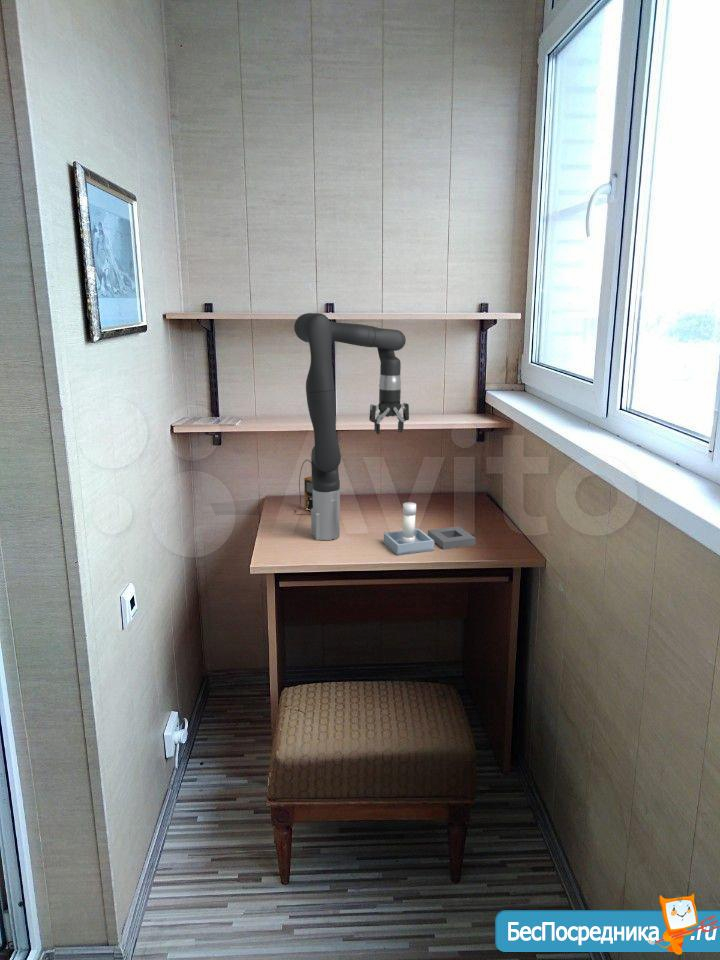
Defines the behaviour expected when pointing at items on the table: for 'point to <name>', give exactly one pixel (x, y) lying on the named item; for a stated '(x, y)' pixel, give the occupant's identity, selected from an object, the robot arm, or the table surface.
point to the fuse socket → (457, 537)
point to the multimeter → (307, 491)
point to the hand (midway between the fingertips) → (388, 433)
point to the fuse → (408, 522)
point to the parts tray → (420, 544)
